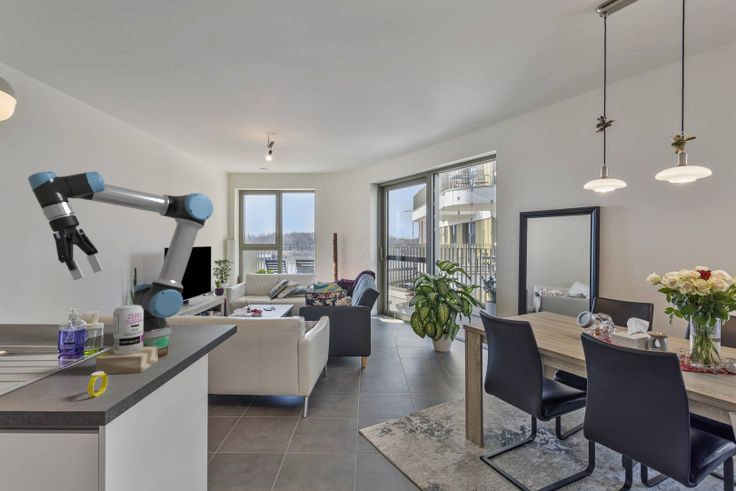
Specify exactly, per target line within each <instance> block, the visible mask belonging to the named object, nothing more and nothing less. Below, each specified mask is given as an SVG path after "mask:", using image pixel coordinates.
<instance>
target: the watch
mask: <svg viewBox="0 0 736 491" xmlns="http://www.w3.org/2000/svg"><path fill="white" fill-rule="evenodd" d="M90 377H91V378H90V379H89V380H88V384H87V393H88V396H89V397H91V398H98V397H99V396H101V395H102V394H103V393H105V391H106V389H107V387H108V382H109V381H108V376H107V374H104V372H103V371H99V372H96V371H95V372H92V373H91V375H90ZM98 378H101V386H100V388H99V390H98V391H97V392H96V393H95V391H94V389H95V388H94V387H95V384H96V381H97V379H98Z"/></svg>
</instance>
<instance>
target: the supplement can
mask: <svg viewBox="0 0 736 491" xmlns="http://www.w3.org/2000/svg"><path fill="white" fill-rule="evenodd" d="M112 316H113V319H112V320H113V322H112V328H113V330H112V333H113V334H112V349H113V352H114V353H115V354H116V355H129V354H134V353H137V352H140V351H141V350H142V349H143V308H142V307H141V305H134V304H125V305H119V306H116V307H115V309H114V311H113V315H112Z"/></svg>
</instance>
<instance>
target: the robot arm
mask: <svg viewBox="0 0 736 491" xmlns="http://www.w3.org/2000/svg"><path fill="white" fill-rule="evenodd" d="M27 178H28V179H27V180H28V183H29V185H30V187H31V191H32V192H33V195H34V196H35V198H36V199H37V200H36V201H37V202H38V204H39V206H40V207H41V210H42V212H43V213H42V214H43V215H44V216H45V218H46V219H47V221H48V224H49V227H50V229H51V230H52V232H54V233H52V236H53V238H54V240H55V241H54V242H55V247H56V248H55V249H56V254H57V259H58V261H59V262H60V264H64V263H65V265H66V267H67V269H68V270H69V273H70V274H71V277H72V280H73V281H77V280H80V279H83V278H85V275H84V274H83V272H82V270H81V268H80V266H79V263H78V262H77V260H76V259H74V246H77V247H78V248H79V249H80V250H81V251H82V252H83V253H84V254H85V255H86V259H87V260H88V262H89V265H90V267H91V269H92V271H93V273H94V274H96V273H99V272H102V271H104V269H103V267H102V265H101V263H100V260H99V259H98V256H97V254H98V253H99V251H98V249H97V247H96V246H95V245H94V244H93V243H92V241H91V240H90V239H89V237H88V236H87V234H86V233H85V232H84V230H83V228H80V229H77V227H79V226H80V222H79V220H78V217H77V216H76V215H75V211H74V209H73V207H72V205H71V203H70V201H69V199H81V200H87V201H92V202H97V203H104V204H110V205H115V206H119V207H126V208H132V209H136V210H140V211H141V210H142V211H147V212H151V213H152V212H153V213H158V214H159V215H160V216H162V217H166V218H170V219H174V220H175V223H176V227H175V230H174V233H173V235H172V237H171V238H172V239H171V241H170V244H169V247H168V250H167V253H166V255H165V259H164V261H163V263H162V264H163V265H162V267H161V270H160V273H159V275H158V278H156V279H154V280H152V283H147V284H138V285H135V286H134V288H133V305H141V307H142V308H143V332H149V331H151V330H153V329H160V328H163V327H164V325H168V322H167V320H166V319H169V318H171V317H174V316H175V315H177V314H178V313H179V312H180V310H181V309H182V307H183V305H184V299H183V298H184V297H183V296H182V293H183V290H184V285H182V281H183V277H184V274H185V272H186V270H187V266H188V263H189V260H190V257H191V254H192V250H193V248H194V244H195V241H196V239H197V235H198V232H199V231H200V230H201V229H203V228H204V226H205V223H206V220H208V219H209V218H210V217H211V216H212V214H213V213H214V204H213V202H212V201H211V198H209V197H208V196H207V195H205V194H203V193H198V192H197V193H196V192H192V193H189V194H185V195H168V194H163V195H157V194H153V193H148V192H144V191H139V190H135V189H131V188H127V187H121V186H117V185H111V184H106V183H105V180H104V179H103V176H102V175H101V174H100V173H99V172H98V171H86V172H83V173H76V174H70V175H63V176H58V175H57V174H56V172H54V171H40V172H37V173H33V174H31V175H29V176H28V177H27Z"/></svg>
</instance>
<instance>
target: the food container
mask: <svg viewBox="0 0 736 491" xmlns="http://www.w3.org/2000/svg"><path fill="white" fill-rule="evenodd" d="M171 334H172V328H171V326H170V325H168V324H167V325H164V327H163V328H160V329H153V330H151V331H149V332H143V346H158V359H159V358H160V359H161V358H163V357H166V356H167V355H168V353H169V352H168V351H169V342H170V335H171Z"/></svg>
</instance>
